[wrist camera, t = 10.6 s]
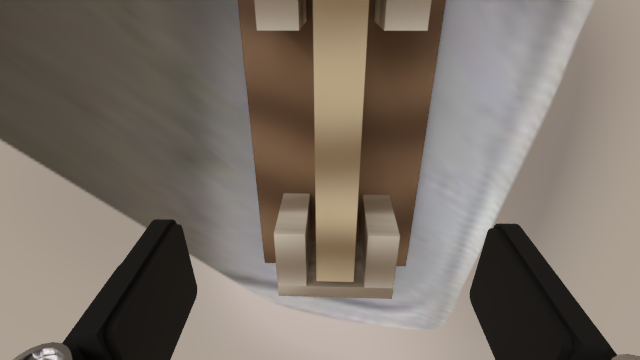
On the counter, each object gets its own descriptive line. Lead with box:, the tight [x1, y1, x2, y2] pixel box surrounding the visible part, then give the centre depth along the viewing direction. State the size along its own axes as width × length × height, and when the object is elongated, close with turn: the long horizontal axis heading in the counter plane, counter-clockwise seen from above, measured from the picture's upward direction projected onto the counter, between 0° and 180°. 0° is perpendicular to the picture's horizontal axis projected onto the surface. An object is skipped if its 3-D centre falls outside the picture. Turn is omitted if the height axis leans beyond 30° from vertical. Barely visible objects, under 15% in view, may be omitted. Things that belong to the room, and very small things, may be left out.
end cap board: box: [238, 0, 446, 299], centre depth 22 cm, size 26×12×6 cm, turn 0°
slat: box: [313, 0, 369, 282], centre depth 21 cm, size 18×2×6 cm, turn 0°
